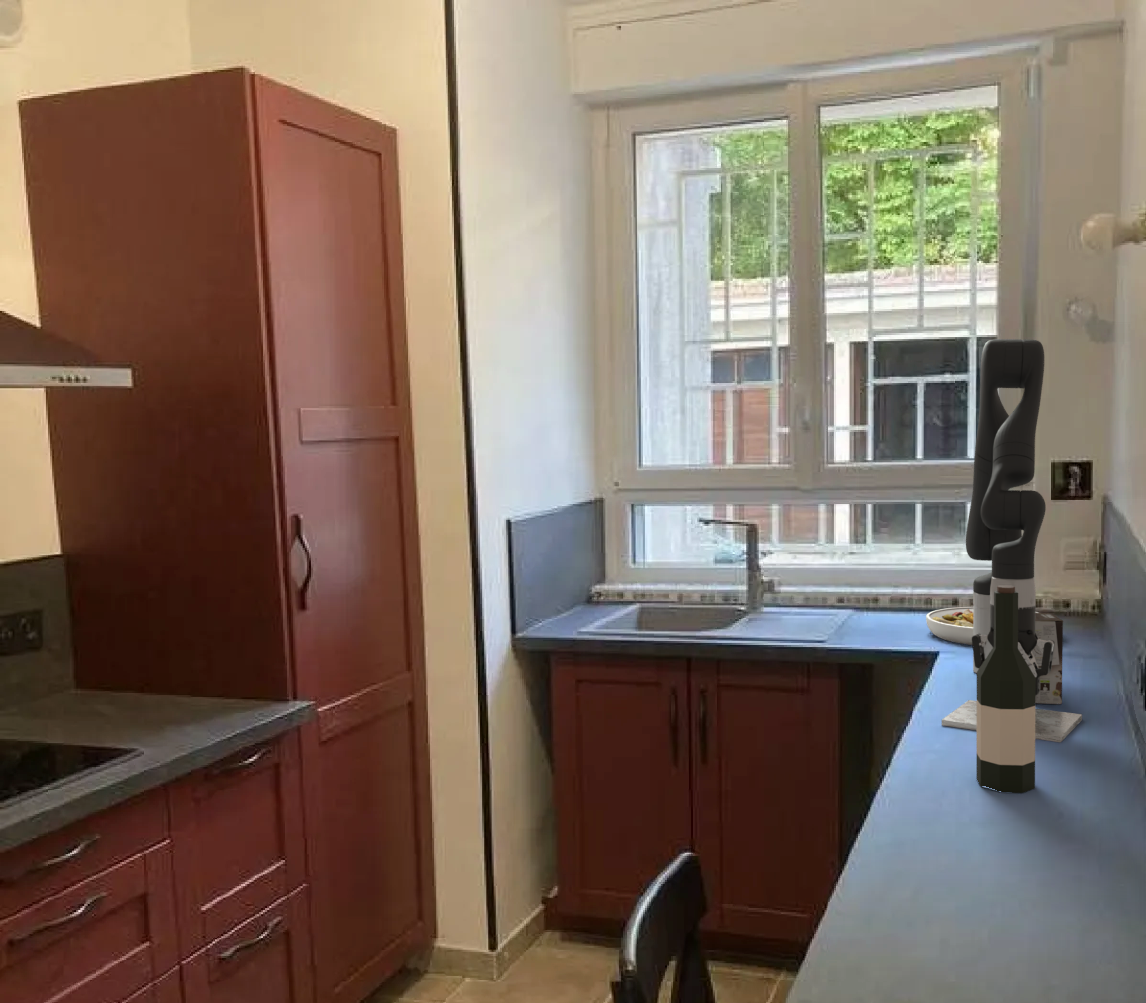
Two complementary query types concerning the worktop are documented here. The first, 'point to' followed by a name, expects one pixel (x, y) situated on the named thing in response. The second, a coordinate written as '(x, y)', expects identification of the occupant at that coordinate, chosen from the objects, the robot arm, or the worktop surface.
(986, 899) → the worktop surface
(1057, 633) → the coffee box
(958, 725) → the duct plate
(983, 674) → the wine bottle
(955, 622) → the bowl
